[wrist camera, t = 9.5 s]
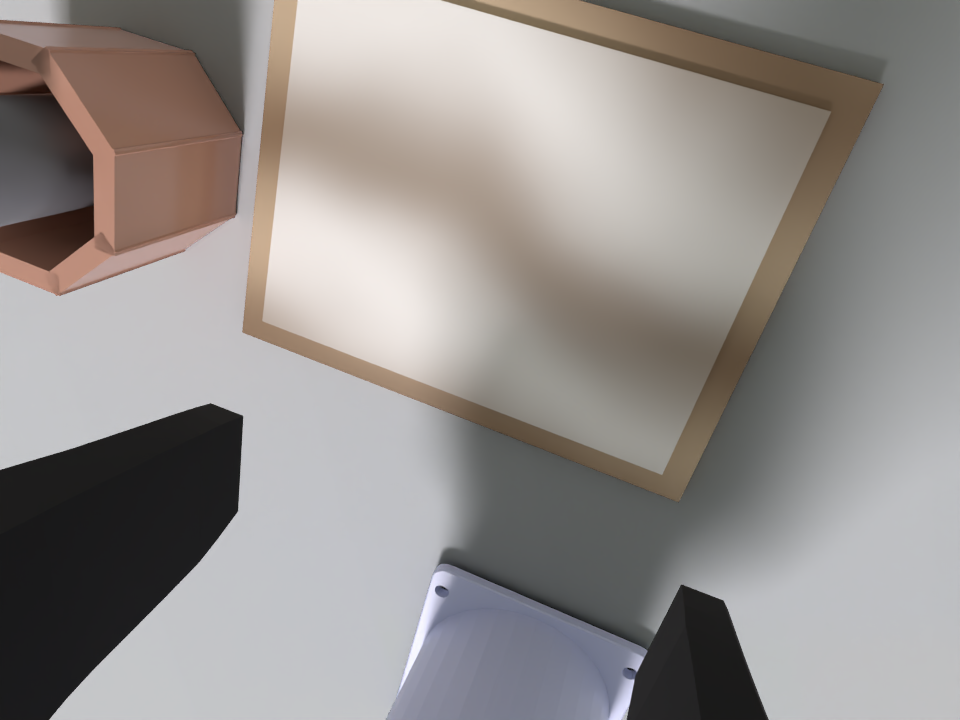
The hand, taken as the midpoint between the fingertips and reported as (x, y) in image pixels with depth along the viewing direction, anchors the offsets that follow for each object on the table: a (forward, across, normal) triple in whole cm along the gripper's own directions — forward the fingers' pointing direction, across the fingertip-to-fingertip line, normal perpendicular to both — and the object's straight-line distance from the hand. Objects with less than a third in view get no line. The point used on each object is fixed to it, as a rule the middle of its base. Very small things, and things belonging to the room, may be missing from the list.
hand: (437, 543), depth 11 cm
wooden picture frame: (+10, +2, -2) cm, 11 cm away
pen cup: (+10, +14, -1) cm, 17 cm away
